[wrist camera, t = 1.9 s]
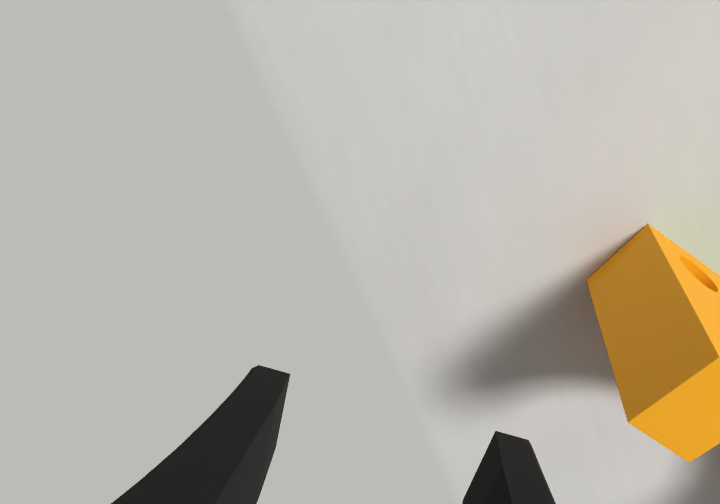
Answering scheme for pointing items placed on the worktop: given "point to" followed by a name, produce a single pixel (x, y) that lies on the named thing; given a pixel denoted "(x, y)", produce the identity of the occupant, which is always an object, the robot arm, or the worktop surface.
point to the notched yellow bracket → (663, 340)
